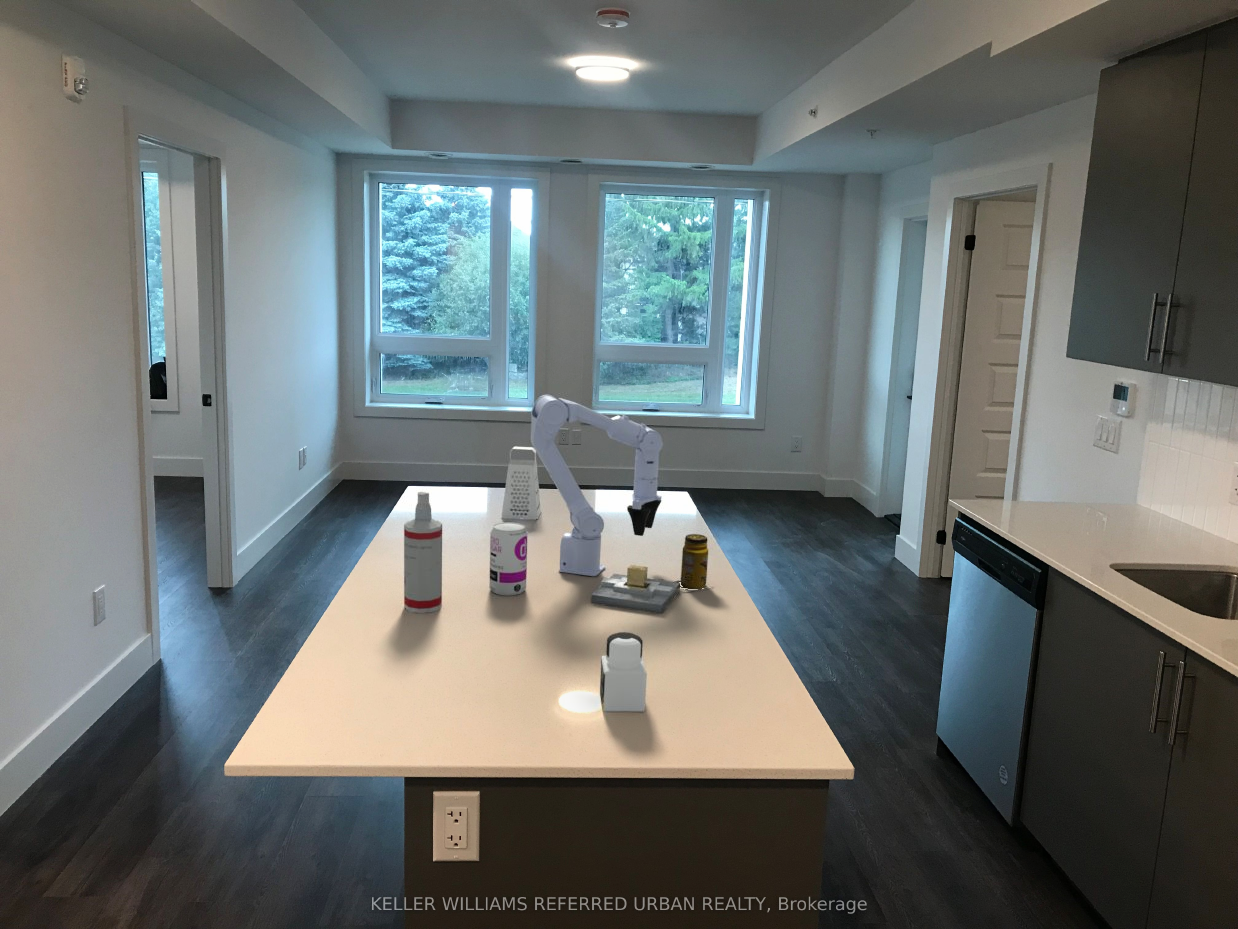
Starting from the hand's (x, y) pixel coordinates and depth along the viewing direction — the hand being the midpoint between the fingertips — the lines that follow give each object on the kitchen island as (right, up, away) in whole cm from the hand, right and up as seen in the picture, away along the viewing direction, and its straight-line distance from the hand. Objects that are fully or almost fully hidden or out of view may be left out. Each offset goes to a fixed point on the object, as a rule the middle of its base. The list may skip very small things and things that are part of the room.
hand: (643, 531), depth 233 cm
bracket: (-2, -11, -20) cm, 23 cm away
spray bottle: (-48, -14, -31) cm, 59 cm away
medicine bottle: (-5, -24, -72) cm, 76 cm away
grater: (-35, +1, +47) cm, 59 cm away
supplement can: (-31, -12, -19) cm, 38 cm away
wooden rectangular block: (-2, -14, -19) cm, 24 cm away
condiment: (+11, -12, -10) cm, 19 cm away
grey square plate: (-2, -13, -19) cm, 24 cm away
